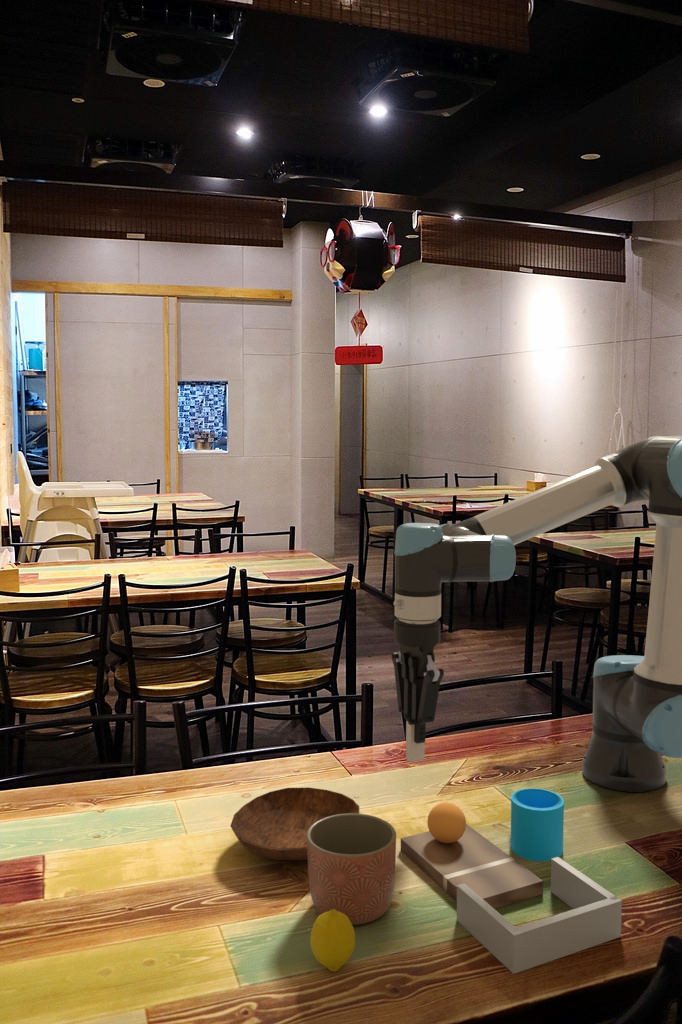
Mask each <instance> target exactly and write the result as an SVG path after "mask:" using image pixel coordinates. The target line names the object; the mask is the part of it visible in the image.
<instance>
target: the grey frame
mask: <svg viewBox="0 0 682 1024" xmlns="http://www.w3.org/2000/svg"><path fill="white" fill-rule="evenodd" d="M550 862H551V863H550V864H551V865H550V892H551V894H553V895H554V896H555V897H557V898H559V899H560V900H561V902H563V903H565V904H566V905H568V906H569V907H570V908H572V909H570V910H567V911H563V912H560V913H558V914H554V915H552V916H551V915H550V916H549V917H545V918H542V919H538V920H535V921H533V922H530V923H527V924H523V925H520V926H517V927H516V926H515V925H513V923H511V922H510V921H509V920H508V919H506V918H505V917H504V915H502V914H501V913H500V912H498V911H497V910H496V909H494V908H493V907H491V906H490V905H489V904H488V903H487V902H486V901H484V900H483V899H482V898H481V897H480V896H479V895H477V894H476V893H475V892H474V891H473V890H472V889H470V888H469V887H468V886H467V885H466V884H465V883H463V884H460V885H457V901H456V921H457V922H458V923H459V924H460V925H461V927H463V929H465V930H466V931H467V932H469V934H470V935H472V936H473V937H474V938H475V940H477V941H478V942H479V943H480V945H482V946H483V947H485V949H486V950H488V952H490V953H491V954H492V955H493V956H494V957H495V959H497V960H498V961H499V962H500V963H501V964H502V965H503V966H504V967H505V968H506V969H508V970H509V971H510V972H511V973H512V974H513V975H515V974H518V973H520V972H524V971H527V970H530V969H532V968H536V967H537V966H538V967H539V966H541V965H544V964H546V963H549V962H552V961H555V960H559V959H560V958H563V957H566V956H569V955H573V954H575V953H578V952H582V951H583V950H587V949H589V948H592V947H596V946H598V945H601V944H604V943H607V942H610V941H612V940H616V939H618V938H622V937H621V936H622V909H623V907H622V906H623V900H622V899H620V898H619V897H617V896H616V895H615V894H613V893H612V892H610V891H608V890H607V889H606V888H604V887H603V886H602V885H600V884H599V883H597V882H595V881H594V880H593V879H591V878H590V877H588V876H587V875H586V874H584V873H583V872H581V871H580V870H578V869H577V868H575V867H573V866H572V865H571V864H569V863H568V862H567V861H565V860H563V859H562V858H561V857H555V858H552V859H551V861H550Z"/></svg>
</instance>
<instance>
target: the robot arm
mask: <svg viewBox="0 0 682 1024" xmlns="http://www.w3.org/2000/svg"><path fill="white" fill-rule="evenodd" d="M639 501H648V510H647V514H648V515H649V516H650V518H652V520H653V521H654V522H655V525H656V526H655V536H654V537H655V539H654V546H653V548H654V549H653V557H652V560H653V561H652V569H651V570H652V571H651V581H650V591H649V592H650V593H649V603H648V604H649V605H648V614H647V615H648V616H647V624H646V633H645V635H646V636H645V647H644V655H632V654H630V655H629V654H628V655H627V654H622V655H621V654H620V655H617V654H616V655H615V654H614V655H605V656H603V657H600V658H598V659H597V660H596V661H595V663H594V667H593V674H592V681H593V683H592V684H593V687H592V733H591V736H590V738H589V741H588V745H587V748H586V753H585V754H584V755H583V757H582V762H581V763H582V764H581V765H582V767H581V769H582V770H581V773H582V775H583V776H584V777H585V779H587V780H588V781H589V782H591V783H592V784H595V785H598V786H600V787H603V788H606V789H610V790H614V791H620V792H630V793H643V792H645V793H646V792H650V791H651V792H652V791H655V790H658V789H660V788H662V787H663V786H665V784H666V782H667V769H666V765H665V764H664V762H663V756H665V757H668V758H672V759H682V435H654V436H650V437H647V438H644V439H641V440H639V441H636V442H633V443H632V444H629V445H627V446H624V447H622V448H620V449H618V450H616V451H613V452H611V453H609V454H607V455H604V456H602V457H600V458H598V459H596V461H595V462H594V466H592V467H590V468H587V469H584V470H582V471H580V472H578V473H575V474H573V475H571V476H569V477H566V478H563V479H561V480H559V481H556V482H553V483H552V484H549V485H546V486H545V487H544V486H543V487H542V488H539V489H537V490H534V491H532V492H530V493H528V494H525V495H523V496H519V497H518V498H514V499H513V500H511V501H508V502H505V503H503V504H501V505H499V506H496V507H494V508H491V509H489V510H487V511H484V512H482V513H478V514H477V515H475V516H472V517H470V518H467V519H464V520H462V521H459V522H457V523H444V524H438V523H429V522H406V523H403V524H401V525H399V526H398V527H397V529H396V531H395V532H396V534H395V544H394V551H393V554H394V601H393V606H394V616H395V617H396V619H395V620H394V622H393V629H394V630H393V639H394V642H395V643H396V644H397V645H399V651H398V652H397V651H396V652H392V653H391V660H392V664H393V669H394V678H395V688H396V696H397V697H396V700H397V706H398V707H397V708H398V712H399V713H403V718H404V719H405V720H406V721H405V760H406V761H408V762H409V763H414V762H419V761H425V758H426V757H425V756H426V755H425V754H426V753H425V752H426V751H425V750H426V747H425V746H426V727H427V726H426V724H428V723H434V721H435V717H436V711H437V705H438V699H439V693H440V686H441V682H442V680H443V677H444V675H445V672H444V669H443V668H438V667H437V666H436V664H435V661H436V657H435V652H434V651H435V650H434V648H435V647H436V645H438V644H440V642H441V628H442V627H441V625H442V624H441V621H440V620H439V619H440V618H441V617H442V584H443V583H454V582H456V583H458V582H459V583H461V582H462V583H463V582H489V583H493V582H498V581H507V580H509V579H511V577H512V576H513V575H514V572H515V569H516V562H517V554H516V548H515V546H516V545H517V544H520V543H522V542H525V541H528V540H530V539H533V538H534V537H537V536H539V535H541V534H545V533H546V532H549V531H551V530H554V529H556V528H559V527H562V526H563V525H565V524H569V523H570V522H573V521H575V520H578V519H580V518H582V517H585V516H587V515H590V514H593V513H595V512H597V511H599V510H601V509H604V508H606V507H608V506H609V507H610V506H613V507H616V508H621V507H625V506H626V505H628V504H631V503H635V502H639ZM662 755H663V756H662Z"/></svg>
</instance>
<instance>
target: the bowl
mask: <svg viewBox="0 0 682 1024" xmlns="http://www.w3.org/2000/svg"><path fill="white" fill-rule="evenodd" d="M347 813H356V814H360V805H359V804H358V803H356V801H355V800H354V799H353V798H351V797H349V796H347V795H345V794H344V793H340V792H336V791H332V790H329V789H323V788H317V787H316V788H315V787H284V788H281V789H277V790H272V791H269V792H267V793H264V794H261V795H259V796H256V797H255V798H253V799H252V800H250V801H249V802H247V803H245V804H244V805H242V807H240V809H238V810H237V812H235V813H234V814H233V817H232V820H231V823H230V828H231V830H232V831H233V833H234V835H235V836H236V838H237V840H238V841H239V843H240V845H242V846H243V847H245V848H247V849H248V850H249V851H252V852H253V853H255V854H256V855H258V856H260V857H264V858H267V859H271V860H274V861H305V860H308V858H307V836H306V835H307V831H308V829H309V828H310V827H311V825H313V824H314V823H315V822H317V821H319V820H321V819H323V818H325V817H329V816H332V815H337V814H347Z"/></svg>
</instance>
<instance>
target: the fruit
mask: <svg viewBox="0 0 682 1024" xmlns="http://www.w3.org/2000/svg"><path fill="white" fill-rule="evenodd" d="M309 939H310V940H309V943H310V948H311V952H312V954H313V956H314V958H315V959H316V961H317V962H318V963H320V964H321V965H322V966H323V967H324V968H325V967H326V968H327V969H328V970H329V971H331V972H337V971H339V970H340V969H341V967H342V966H344V965H345V964H347V962H348V961H349V960H350V958H351V957H352V955H353V952H354V951H355V948H356V933H355V928H354V925H352V924H351V922H350V920H349V918H348V917H347V916H346V915H345V914H343V913H341V912H338V911H336V910H335V909H334V908H332V909H331V910H330V911H328V912H325V913H323V914H319V915H318V917H317V918H316V919H315V921H314V923H313V925H312V927H311V931H310V938H309Z"/></svg>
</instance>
